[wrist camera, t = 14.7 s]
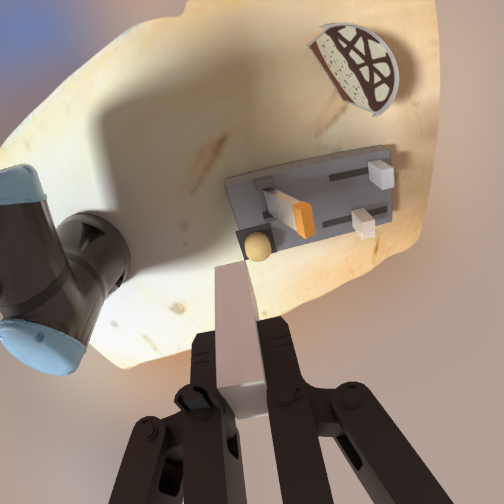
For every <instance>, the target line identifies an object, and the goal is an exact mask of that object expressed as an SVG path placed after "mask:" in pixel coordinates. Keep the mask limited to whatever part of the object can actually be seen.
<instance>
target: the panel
mask: <svg viewBox="0 0 504 504" xmlns="http://www.w3.org/2000/svg"><path fill="white" fill-rule="evenodd" d="M374 160H381V161H383V162H385V163H386V164H388V165H390V166H391V160H390V150H389V149H387V148H385V147H383V146H381V145H378V146H371V147H366V148H360V149H354V150H349V151H343V152H338V153H333V154H328V155H323V156H318V157H313V158H309V159H304V160H299V161H295V162H291V163H286V164H282V165H278V166H273V167H269V168H265V169H261V170H257V171H253V172H249V173H246V174H242V175H238V176H234V177H231V178H227V179H225V187H226V190H227V193H228V196H229V200H230V203H231V206H232V209H233V213H234V216H235V219H236V222H237V226H238V229H239V231H236V235H237V238H238V241H239V244H240V247H241V251H242V254H243V257H244V260H248V259H249V258H248V257H247V255H246V251H245V239H246V237H247V236H248V235H249V234H251V233H253V232H262V233H264V234H266V235H267V236H268V238H269V241H270V245H271V253H275V252H277V251H280V250H284V249H288V248H292V247H295V246H299V245H303V244H307V243H311V242H315V241H319V240H323V239H327V238H330V237H334V236H338V235H342V234H346V233H350V232H354V231H356V230H355V229H354V228H353V225H352V211H351V210H355V209H359V208H364V209H365V210H366V211H367V212H368V213H369V214H370V215H371V216H372V217H373V218H374V219H375V226H377V225H380V224H384V223H388V222H392V188H389V189H384V190H381V189H380V188H379V187H378V186H376V185H375V184H374V183H373V182H371V181H370V180H369V170H368V162H369V161H374ZM268 187H269V188H270V187H272V188H274V189H276V190H279V191H281V192H283V193H285V194H287V195H289V196H291V197H293V198H295V199H297V200H299V201H304V202H306V203H308V204H310V205H311V206H312V212H313V219H314V225H315V232H316V234H315V235H313V236H311V237H309V238H307V239H305V238H303V237H302V236H300V235H299V234H298V233H297V231H295V230H294V229H292V228H291V227H289V226H287V225H286V224H284V223H283V222H281V221H280V220H278V219H277V218H275V217H274V216H272V215H271V214H269V213H268V212H267V208H266V204H265V200H264V196H263V192H262V189H264V188H268Z"/></svg>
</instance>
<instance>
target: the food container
mask: <svg viewBox="0 0 504 504" xmlns="http://www.w3.org/2000/svg"><path fill="white" fill-rule="evenodd" d="M320 28H325V30H324V31H322V32H321V33H320V34H319V35H318V36H317V37H316V38H315V39H314V40H313V41H312V42H311V43H310V44H309V45H308V47H309V49H310V50H311V52H312V53H313V55H314V56H315V58H316V59H317V61H318V62H319V64H320V65H321V67H322V68H323V70H324V71H325V73H326V75H327V76H328V78H329V79H330V81H331V83H332V84H333V86H334V88H335V89H336V91H337V93H338V94H339V96H340V98H341V100H342V101H344V102H346V103H349V104H352V105H354V106H357V107H359V108H362V109H364V110H367V111H369V112H372V113H374V115H373V117H377V116H379V115H380V114H382V113H383V112H384V111H385V110H387V109H388V108H389V106H390V105H391V104H392V102H393V101H394V99H395V97H396V94H397V91H398V86H399V70H398V65H397V62H396V59H395V57H394V55H393V53H392V51H391V50H390V48H389V47H388V45H387V44H386V43H385V42H384V41H383V40H382V39H381V38H380V37H379V36H378V35H376V34H375V33H373V32H372V31H370V30H368V29H366V28H364V27H362V26H359V25H356V24H351V23H330V24H325V25H323V26H320Z"/></svg>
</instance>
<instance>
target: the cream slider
mask: <svg viewBox="0 0 504 504" xmlns="http://www.w3.org/2000/svg"><path fill="white" fill-rule="evenodd" d="M351 211H352V225H353V228H354V229H355V230H356V232H357V233H358V234H359V235H360V237H361V238H362V239H363V240H364V239H368V238H372V237H375V219H374V218H373V217H372V216H371V215H370V214H369V213H368V212H367V211H366V210H365V209H364V208H359V209H355V210H351Z"/></svg>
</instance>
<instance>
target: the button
mask: <svg viewBox="0 0 504 504" xmlns="http://www.w3.org/2000/svg"><path fill="white" fill-rule="evenodd" d="M245 251H246V255H247V257H248V258H249V259H250V260H252V261H256V262H259V261H263V260H265V259H267V258H268V257H269V256H270V254H271V245H270V241H269V238H268V236H267V235H266V234H264V233H262V232H253V233H251V234H249V235H248V236H247V237H246V239H245Z"/></svg>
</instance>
